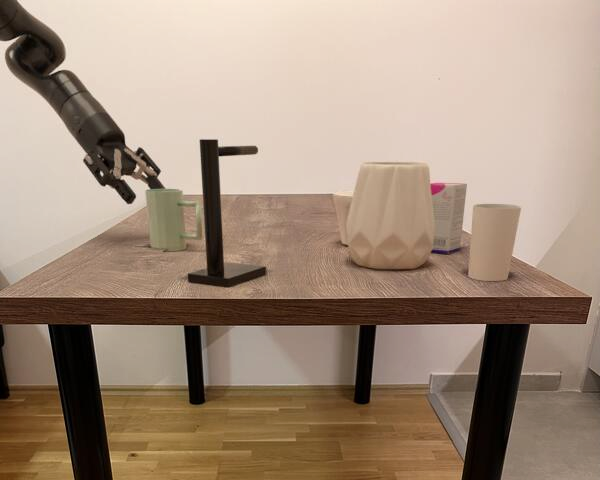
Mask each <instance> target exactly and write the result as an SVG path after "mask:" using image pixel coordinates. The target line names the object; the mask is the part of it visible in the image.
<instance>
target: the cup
mask: <svg viewBox="0 0 600 480" xmlns="http://www.w3.org/2000/svg"><path fill="white" fill-rule="evenodd" d="M353 194H354V190H340V191H335V192H333V193H332V200H333V203H334V208H335V214H336V219H337V224H338V230H339V236H340V241H341V244H342V246H345V247H348V236H347V230H346V224H347V219H348V215H349V210H350V206H351V202H352V198H353Z"/></svg>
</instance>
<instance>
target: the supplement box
mask: <svg viewBox="0 0 600 480" xmlns="http://www.w3.org/2000/svg"><path fill="white" fill-rule="evenodd" d="M430 186H431V195H432V203H433V212H434V222H435V231H434V239H433V249H432V251H431V253H432V254H442V255H450V254H453V253H456V252H459V251H460V250H461V244H462V234H463V225H464V215H465V207H466V206H465V205H466V197H467V188H468V184H467V183H462V182H461V183H459V182H432V183H431V182H430ZM431 253H430V254H431Z"/></svg>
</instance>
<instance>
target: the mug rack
mask: <svg viewBox="0 0 600 480" xmlns="http://www.w3.org/2000/svg"><path fill="white" fill-rule="evenodd" d="M258 152H259V148H258V146H257V145H230V146H229V145H228V146H224V145H223V146H219V139H217V138H216V139H214V138H213V139H212V138H208V139H207V138H200V139H199V153H200V154H199V155H200V157H199V158H200V171H201V187H202V190H201V191H202V203H203V204H202V206H203V220H204V221H203V223H204V240H205V241H204V243H205V257H206V268H203V269H199V270H195V271H192V272H188V273H187V282H188V283H194V284H201V285H209V286H214V287H215V286H216V287H224V288H231V287H234V286H236V285H240V284H243V283H246V282H248V281H250V280H254V279H257V278H259V277H262V276H265V275H266V274H267V266H265V265H258V264H257V265H255V264H247V263H237V262H231V261H230V262H229V261H227V262H225V260H224V259H225V258H224V239H223V238H224V236H223V235H224V234H223V217H222V195H221V193H222V191H221V175H220V174H221V173H220V157H235V156H252V155H253V156H254V155H257V154H258Z"/></svg>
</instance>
